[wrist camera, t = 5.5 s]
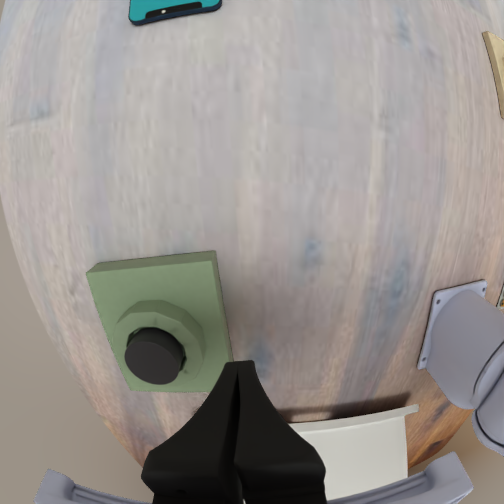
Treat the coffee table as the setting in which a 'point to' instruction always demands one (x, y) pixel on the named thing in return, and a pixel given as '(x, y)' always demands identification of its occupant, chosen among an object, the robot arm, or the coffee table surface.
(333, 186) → the coffee table surface
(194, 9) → the smartphone
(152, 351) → the button
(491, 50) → the bracket
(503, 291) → the multicoloured flat piece
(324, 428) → the tablet stand
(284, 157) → the coffee table surface
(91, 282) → the button block
